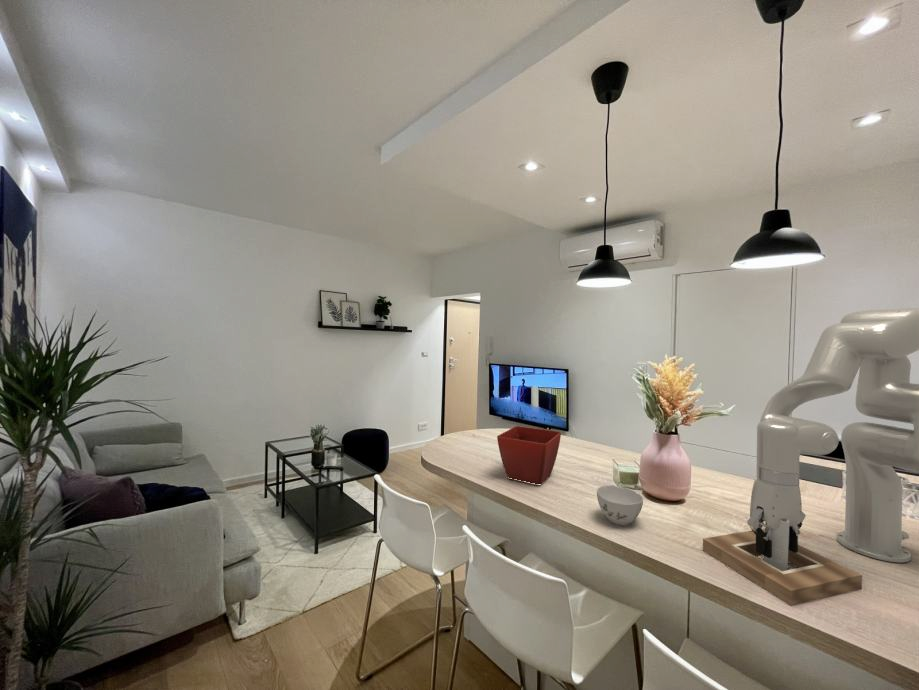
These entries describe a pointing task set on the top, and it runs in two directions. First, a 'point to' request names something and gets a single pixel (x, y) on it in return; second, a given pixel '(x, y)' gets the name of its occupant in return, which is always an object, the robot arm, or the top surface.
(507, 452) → the plant pot
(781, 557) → the skincare box
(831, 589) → the picture frame
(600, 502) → the teacup
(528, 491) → the top surface
